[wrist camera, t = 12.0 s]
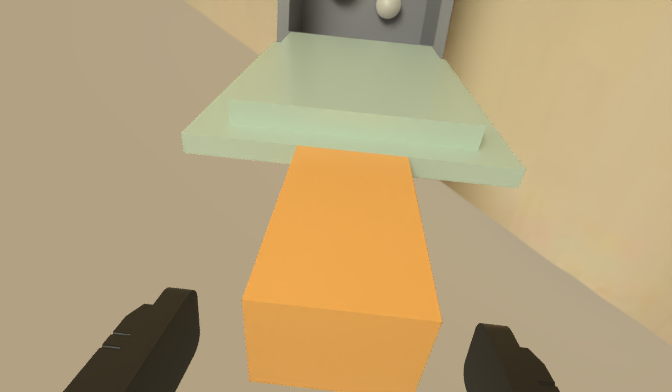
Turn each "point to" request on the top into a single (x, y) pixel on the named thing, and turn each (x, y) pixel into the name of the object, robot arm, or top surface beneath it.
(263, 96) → the lid
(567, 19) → the top surface
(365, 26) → the tub
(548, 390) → the robot arm
